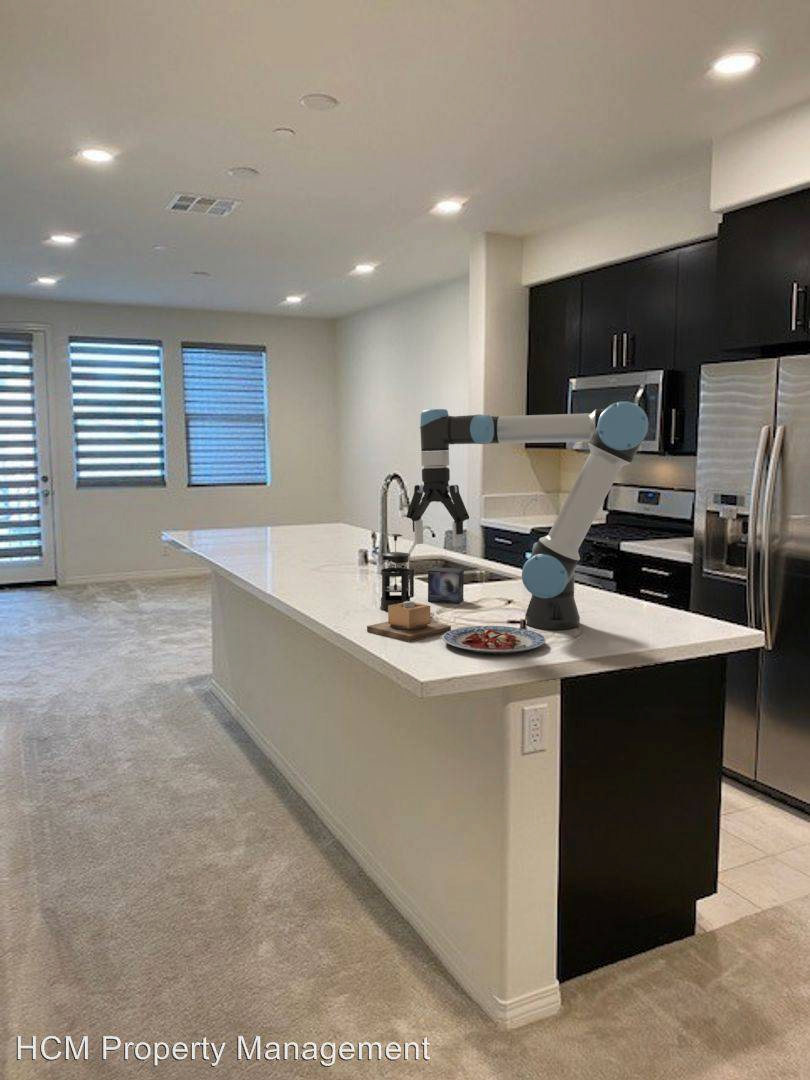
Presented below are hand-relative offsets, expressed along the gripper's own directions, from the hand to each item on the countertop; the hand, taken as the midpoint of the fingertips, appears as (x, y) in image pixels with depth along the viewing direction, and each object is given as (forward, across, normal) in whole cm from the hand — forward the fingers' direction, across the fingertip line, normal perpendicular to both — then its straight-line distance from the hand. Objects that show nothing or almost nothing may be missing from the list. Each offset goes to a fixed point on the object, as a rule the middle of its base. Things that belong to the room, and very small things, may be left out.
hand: (437, 545), depth 220 cm
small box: (+23, +22, -29) cm, 43 cm away
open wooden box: (+20, +3, +10) cm, 23 cm away
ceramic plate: (+24, -22, +6) cm, 33 cm away
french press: (+22, +26, -10) cm, 36 cm away
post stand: (+22, +3, +10) cm, 25 cm away
